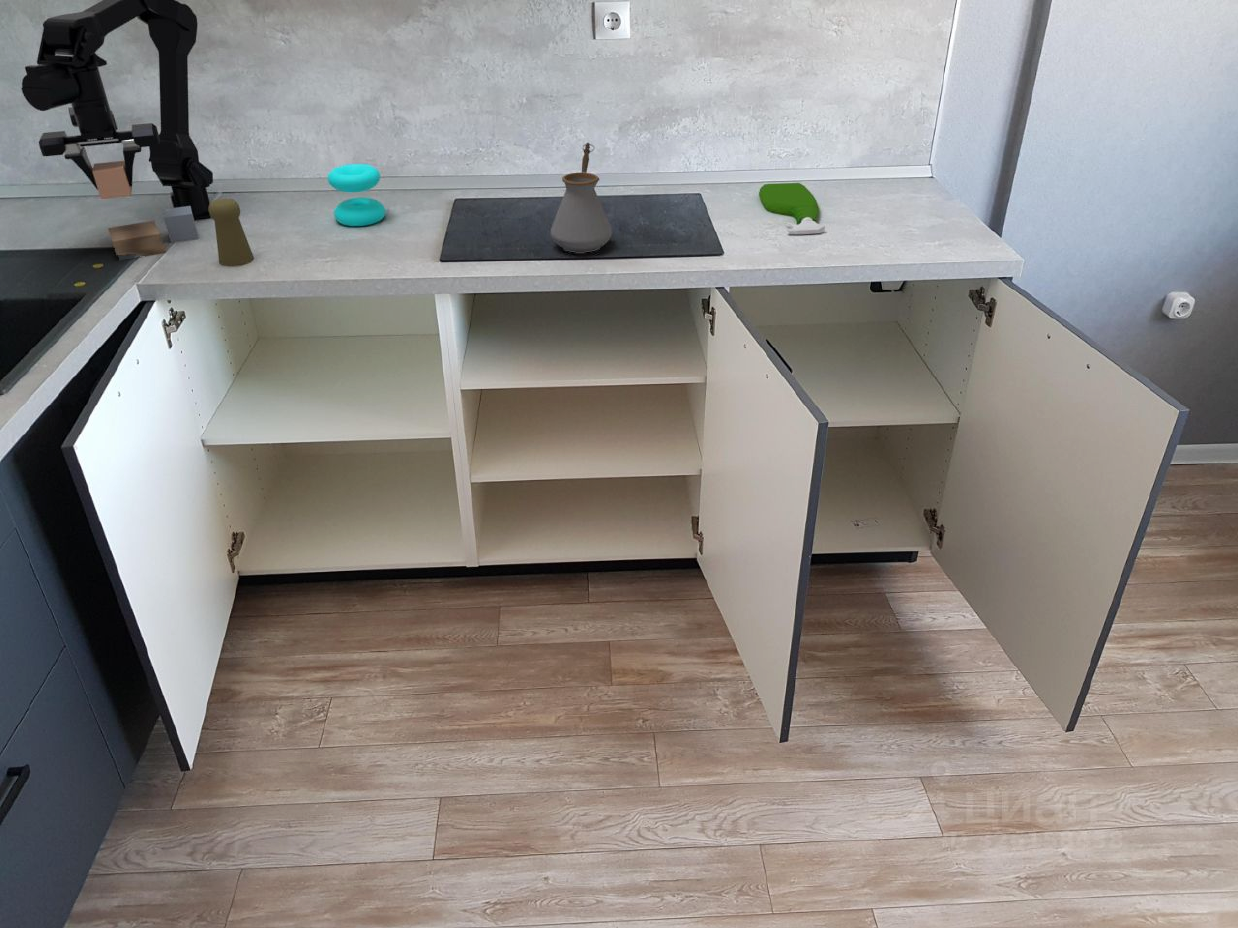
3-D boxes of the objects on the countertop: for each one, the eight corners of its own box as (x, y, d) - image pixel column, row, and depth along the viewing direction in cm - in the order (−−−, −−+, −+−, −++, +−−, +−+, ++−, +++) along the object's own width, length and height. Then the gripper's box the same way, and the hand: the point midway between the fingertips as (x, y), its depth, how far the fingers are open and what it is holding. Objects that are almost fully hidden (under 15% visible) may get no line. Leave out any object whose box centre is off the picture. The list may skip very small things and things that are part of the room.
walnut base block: (159, 241, 181) (153, 220, 179) (166, 254, 175) (160, 233, 173) (114, 248, 178) (107, 228, 175) (119, 262, 172) (112, 241, 170)
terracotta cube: (131, 188, 174) (124, 160, 172) (131, 196, 171) (123, 168, 168) (102, 191, 173) (93, 163, 170) (101, 199, 169) (92, 171, 166)
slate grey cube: (196, 231, 185) (190, 205, 182) (198, 239, 181) (192, 213, 178) (169, 234, 183) (162, 209, 180) (170, 243, 179) (163, 217, 176)
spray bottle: (805, 195, 201) (836, 238, 181) (754, 197, 201) (780, 240, 181) (806, 182, 200) (838, 223, 180) (755, 183, 199) (781, 225, 179)
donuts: (318, 177, 180) (336, 161, 188) (328, 227, 186) (345, 210, 194) (369, 178, 179) (385, 162, 187) (377, 229, 185) (392, 212, 193)
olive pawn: (242, 251, 175) (227, 192, 169) (260, 259, 172) (246, 199, 166) (212, 261, 171) (196, 201, 165) (230, 269, 168) (215, 208, 162)
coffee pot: (609, 258, 171) (608, 176, 163) (547, 257, 172) (542, 174, 164) (618, 218, 189) (618, 142, 181) (561, 217, 190) (558, 141, 181)
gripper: (147, 84, 172) (169, 170, 180) (32, 93, 166) (61, 181, 175) (146, 96, 163) (170, 186, 172) (25, 106, 157) (56, 199, 166)
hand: (115, 188), depth 171 cm, fingers closed on terracotta cube, 5 cm apart
